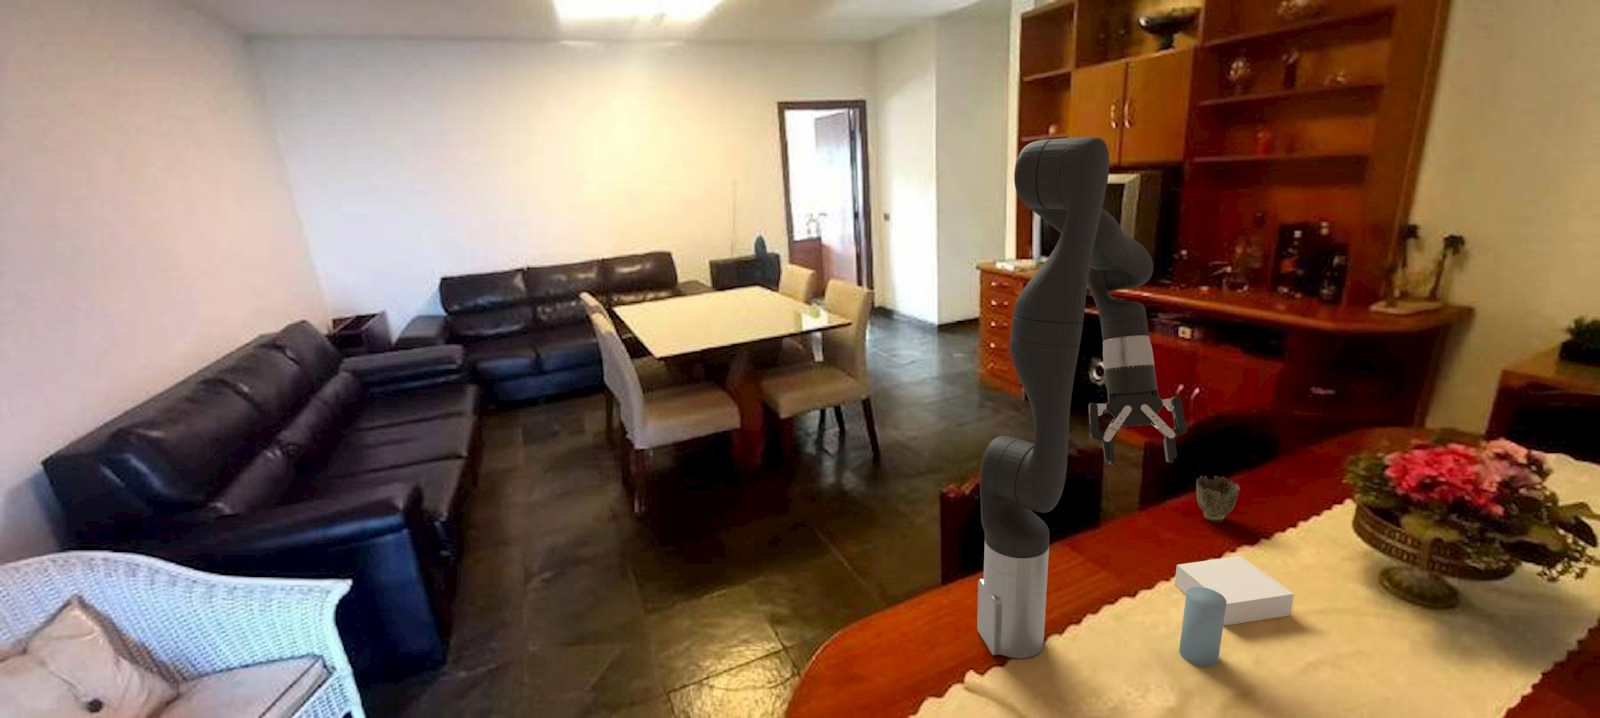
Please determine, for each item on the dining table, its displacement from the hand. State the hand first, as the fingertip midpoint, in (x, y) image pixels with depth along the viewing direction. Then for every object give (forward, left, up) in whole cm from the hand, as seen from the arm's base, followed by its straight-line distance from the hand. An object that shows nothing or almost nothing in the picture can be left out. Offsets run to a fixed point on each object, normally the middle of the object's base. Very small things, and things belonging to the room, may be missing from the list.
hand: (1140, 463), depth 109 cm
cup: (+30, +17, -24) cm, 41 cm away
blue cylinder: (0, -17, -23) cm, 29 cm away
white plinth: (+14, -7, -23) cm, 28 cm away
